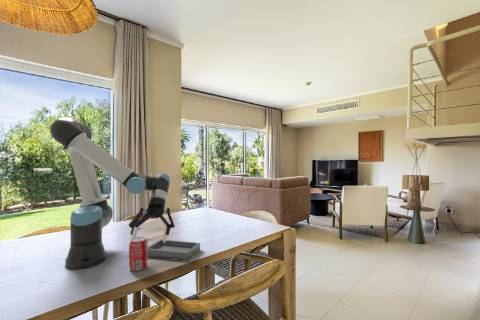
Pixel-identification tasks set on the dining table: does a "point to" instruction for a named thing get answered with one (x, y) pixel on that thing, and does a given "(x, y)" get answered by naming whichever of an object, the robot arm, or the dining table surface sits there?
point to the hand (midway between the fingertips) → (148, 241)
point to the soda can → (138, 253)
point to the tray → (173, 249)
